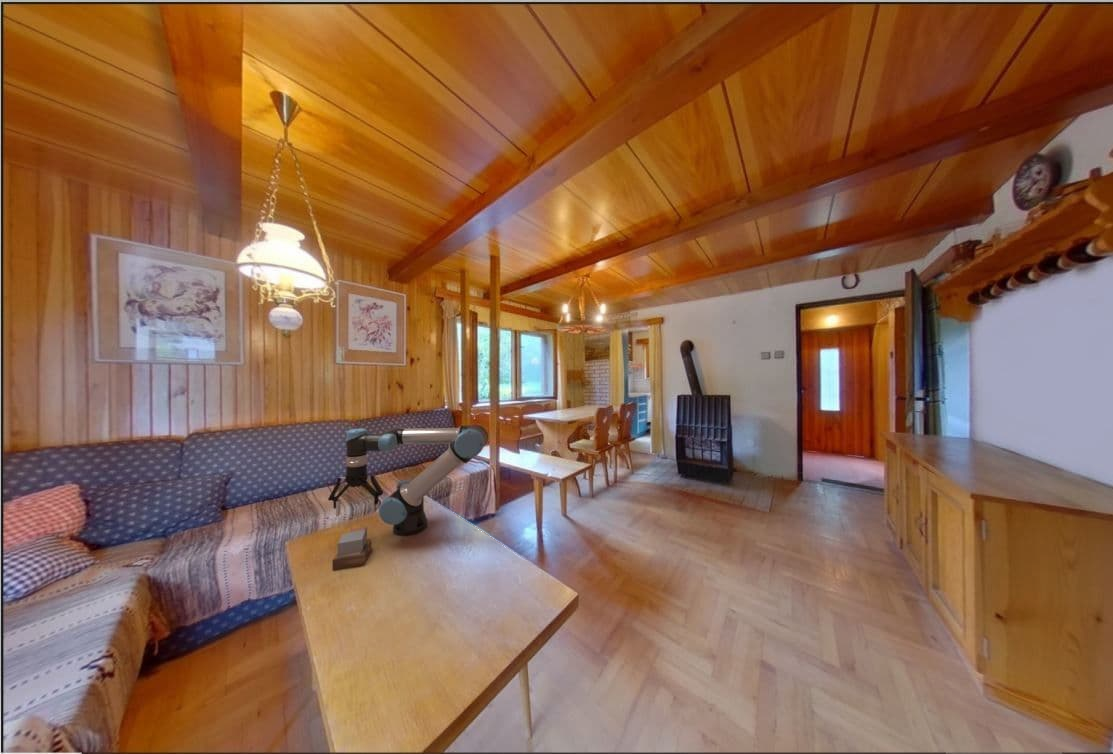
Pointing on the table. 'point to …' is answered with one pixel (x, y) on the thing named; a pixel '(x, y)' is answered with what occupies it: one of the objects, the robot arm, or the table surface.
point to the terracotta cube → (359, 530)
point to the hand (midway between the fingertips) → (356, 513)
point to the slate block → (351, 543)
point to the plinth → (352, 558)
